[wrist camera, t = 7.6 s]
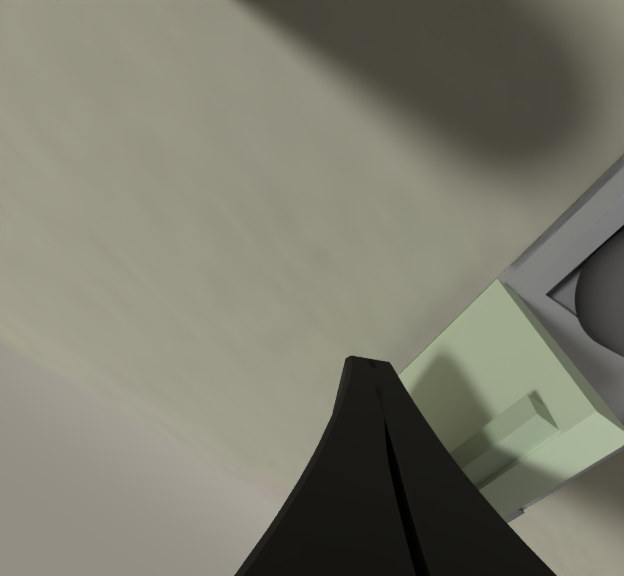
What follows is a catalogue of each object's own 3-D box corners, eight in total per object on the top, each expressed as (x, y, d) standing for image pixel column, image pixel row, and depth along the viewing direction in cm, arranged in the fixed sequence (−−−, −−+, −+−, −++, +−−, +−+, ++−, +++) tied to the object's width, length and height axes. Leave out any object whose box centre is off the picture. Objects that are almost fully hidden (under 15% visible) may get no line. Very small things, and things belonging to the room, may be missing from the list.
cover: (634, 439, 6) (572, 394, 6) (333, 621, 10) (294, 594, 10) (515, 292, 12) (485, 270, 12) (360, 436, 16) (337, 419, 16)
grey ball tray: (958, 188, 11) (1068, 201, 9) (477, 503, 20) (489, 540, 18) (783, -2, 10) (876, -28, 8) (343, 429, 18) (342, 462, 16)
